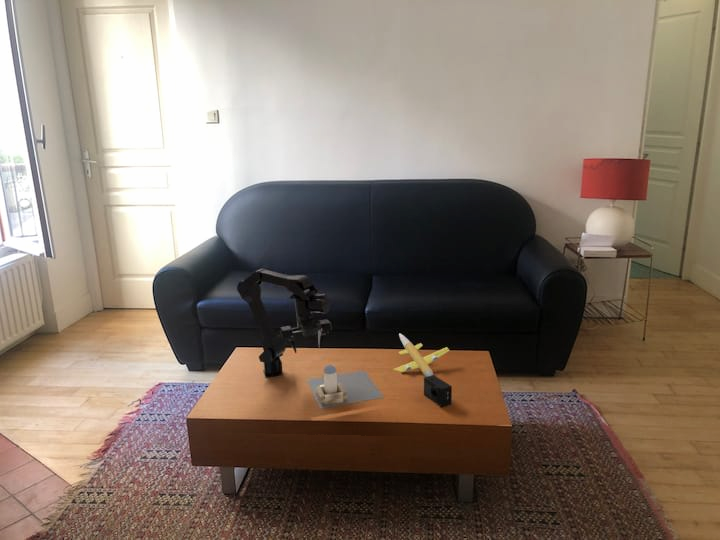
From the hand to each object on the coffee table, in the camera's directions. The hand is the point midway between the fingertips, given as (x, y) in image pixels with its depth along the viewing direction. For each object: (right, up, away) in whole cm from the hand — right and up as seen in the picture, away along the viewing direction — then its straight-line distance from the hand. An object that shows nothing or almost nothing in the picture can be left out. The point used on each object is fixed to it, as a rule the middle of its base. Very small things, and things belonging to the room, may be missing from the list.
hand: (307, 350), depth 200 cm
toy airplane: (+42, -9, +14) cm, 45 cm away
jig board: (+14, -14, -4) cm, 20 cm away
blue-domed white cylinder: (+9, -15, -10) cm, 20 cm away
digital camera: (+46, -16, -12) cm, 50 cm away
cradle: (+9, -16, -10) cm, 21 cm away
